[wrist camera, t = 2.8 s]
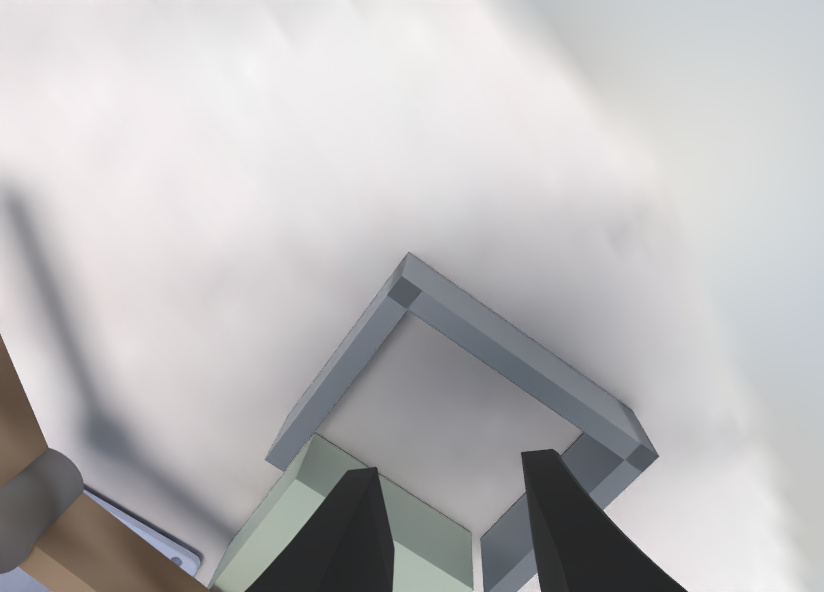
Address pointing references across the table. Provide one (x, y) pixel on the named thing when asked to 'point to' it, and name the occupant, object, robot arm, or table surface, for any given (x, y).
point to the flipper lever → (65, 515)
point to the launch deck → (304, 492)
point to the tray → (514, 359)
